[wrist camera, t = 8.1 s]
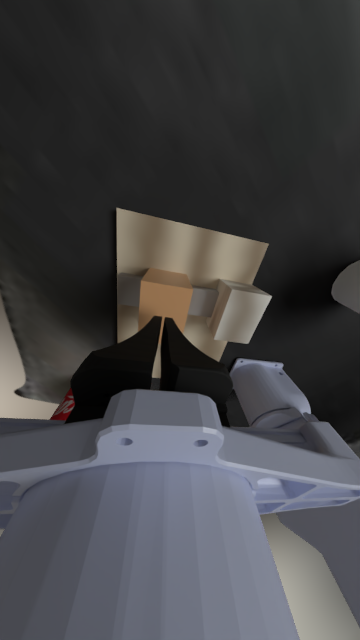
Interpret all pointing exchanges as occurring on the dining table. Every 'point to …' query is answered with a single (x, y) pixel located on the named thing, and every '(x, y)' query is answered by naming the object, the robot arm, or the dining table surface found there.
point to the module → (164, 297)
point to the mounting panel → (191, 279)
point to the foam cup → (348, 287)
